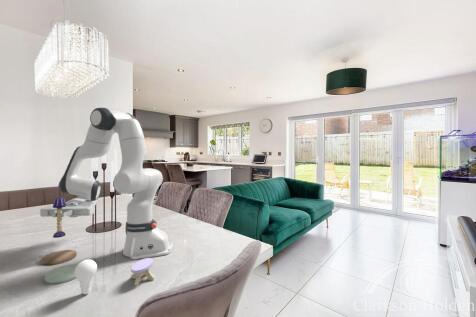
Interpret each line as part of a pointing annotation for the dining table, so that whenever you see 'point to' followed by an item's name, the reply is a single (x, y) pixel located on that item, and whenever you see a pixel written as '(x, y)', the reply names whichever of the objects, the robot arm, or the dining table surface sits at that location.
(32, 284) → the dining table surface
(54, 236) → the toy lamp
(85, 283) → the lightbulb
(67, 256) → the walnut coaster
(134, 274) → the toy table
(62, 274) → the sage coaster
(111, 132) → the robot arm
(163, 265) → the dining table surface
